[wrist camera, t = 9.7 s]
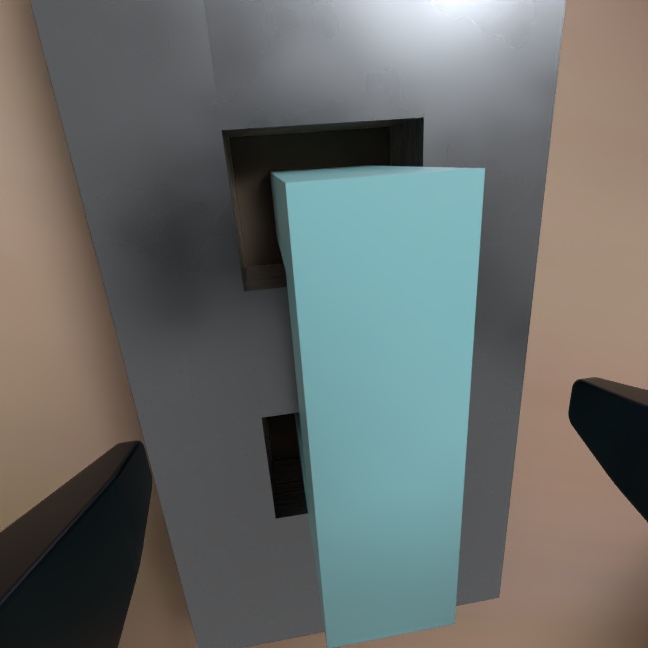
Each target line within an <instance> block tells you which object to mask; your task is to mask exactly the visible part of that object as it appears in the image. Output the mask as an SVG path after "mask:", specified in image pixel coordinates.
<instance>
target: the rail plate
mask: <svg viewBox="0 0 648 648" xmlns="http://www.w3.org/2000/svg"><path fill="white" fill-rule="evenodd" d="M30 2H31V6H32V10H33V14H34V17H35V21H36V25H37V29H38V33H39V37H40V41H41V44H42V48H43V52H44V56H45V60H46V64H47V68H48V71H49V75H50V79H51V83H52V87H53V91H54V95H55V98H56V102H57V106H58V110H59V114H60V118H61V122H62V125H63V129H64V133H65V137H66V141H67V145H68V149H69V152H70V156H71V160H72V164H73V168H74V172H75V176H76V179H77V183H78V187H79V191H80V195H81V199H82V203H83V206H84V210H85V214H86V218H87V222H88V226H89V229H90V233H91V237H92V241H93V245H94V249H95V253H96V256H97V260H98V264H99V268H100V272H101V276H102V280H103V283H104V287H105V291H106V295H107V299H108V303H109V307H110V310H111V314H112V318H113V322H114V326H115V330H116V334H117V337H118V341H119V345H120V349H121V353H122V357H123V361H124V364H125V368H126V372H127V376H128V380H129V384H130V388H131V391H132V395H133V399H134V403H135V407H136V411H137V415H138V418H139V422H140V426H141V430H142V434H143V438H144V442H145V445H146V449H147V453H148V457H149V461H150V465H151V468H152V472H153V476H154V480H155V484H156V488H157V492H158V495H159V499H160V503H161V507H162V511H163V515H164V519H165V522H166V526H167V530H168V534H169V538H170V542H171V546H172V549H173V553H174V557H175V561H176V565H177V569H178V573H179V576H180V580H181V584H182V588H183V592H184V596H185V600H186V603H187V607H188V611H189V615H190V619H191V623H192V627H193V630H194V634H195V638H196V642H197V646H198V648H243V647H249V646H254V645H259V644H264V643H269V642H274V641H279V640H284V639H290V638H295V637H300V636H305V635H310V634H315V633H320V632H325V628H324V621H323V614H322V607H321V600H320V593H319V586H318V579H317V572H316V565H315V559H314V552H313V545H312V538H311V531H310V524H309V517H308V510H307V503H306V496H305V489H304V482H303V476H302V469H301V462H300V458H294V459H287V460H280V461H273V460H272V453H271V445H270V438H269V431H268V423H267V417H269V416H276V415H284V414H291V413H298V412H299V403H298V392H297V382H296V372H295V361H294V351H293V341H292V330H291V320H290V310H289V300H288V289H287V279H286V270H285V266H284V263H280V264H270V265H259V266H249V267H246V259H245V252H244V244H243V237H242V229H241V222H240V215H239V207H238V200H237V192H236V185H235V177H234V170H233V162H232V155H231V148H230V140H229V137H239V136H255V135H270V134H286V133H301V132H316V131H332V130H347V129H363V128H378V127H390V166H411V167H455V168H485V177H484V192H483V207H482V222H481V237H480V251H479V266H478V281H477V296H476V311H475V326H474V341H473V356H472V371H471V386H470V401H469V416H468V431H467V446H466V461H465V476H464V491H463V506H462V521H461V536H460V551H459V566H458V581H457V596H456V606H459V605H464V604H469V603H474V602H479V601H484V600H489V599H494V598H499V594H500V585H501V576H502V567H503V558H504V549H505V541H506V532H507V523H508V514H509V505H510V496H511V487H512V478H513V469H514V460H515V451H516V442H517V433H518V424H519V415H520V406H521V397H522V388H523V379H524V370H525V361H526V352H527V343H528V334H529V326H530V317H531V308H532V299H533V290H534V281H535V272H536V263H537V254H538V245H539V236H540V227H541V218H542V209H543V200H544V191H545V182H546V173H547V164H548V155H549V146H550V137H551V128H552V119H553V111H554V102H555V93H556V84H557V75H558V66H559V57H560V48H561V39H562V30H563V21H564V12H565V3H566V0H30Z"/></svg>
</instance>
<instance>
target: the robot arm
mask: <svg viewBox="0 0 648 648" xmlns="http://www.w3.org/2000/svg"><path fill="white" fill-rule="evenodd" d="M568 414H569V420H570V422H571V424H572V426H573V427H574V429H575V430H576V431H577V433H578V434H579V436H580V437H581V438H582V440H583V441H584V442H585V444H586V445H587V447H588V448H589V449H590V451H591V452H592V454H593V455H594V456H595V458H596V459H597V461H598V462H599V463H600V465H601V466H602V467H603V469H604V470H605V472H606V473H607V474H608V476H609V477H610V478H611V480H612V481H613V482H614V484H615V485H616V486H617V487H618V488H619V490H620V491H621V492H622V493H623V494H624V496H625V497H626V498H627V499H628V500H629V501H630V502H631V504H632V505H633V506H634V507H635V508H636V509H637V511H638V512H639V513H640V514H641V515H642V516H643V517H644V519H645V520H646V521H647V522H648V390H645V389H641V388H637V387H633V386H629V385H625V384H621V383H617V382H613V381H609V380H605V379H601V378H596V377H592V378H585V379H579V380H577V381H575V382H574V384H573V387H572V393H571V399H570V405H569V412H568ZM151 491H152V475H151V471H150V467H149V463H148V459H147V455H146V452H145V448H144V445H143V443H142V442H141V441H130V442H123V443H119V444H117V445H115V446H114V447H113V448H111V449H110V450H109V451H107V452H106V453H105V454H104V455H102V456H101V457H100V458H98V459H97V460H96V461H94V462H93V463H92V464H90V465H89V466H88V467H86V468H85V469H84V470H82V471H81V472H80V473H78V474H77V475H76V476H74V477H73V478H72V479H70V480H69V481H68V482H66V483H65V484H64V485H63V486H61V487H60V488H59V489H57V490H56V491H55V492H53V493H52V494H51V495H49V496H48V497H47V498H45V499H44V500H43V501H41V502H40V503H39V504H37V505H36V506H35V507H33V508H32V509H31V510H29V511H28V512H27V513H25V514H24V515H23V516H21V517H20V518H19V519H18V520H16V521H15V522H14V523H12V524H11V525H10V526H8V527H7V528H6V529H4V530H3V531H2V532H0V648H118V645H119V641H120V637H121V633H122V630H123V626H124V622H125V619H126V615H127V611H128V608H129V604H130V600H131V597H132V593H133V589H134V586H135V582H136V578H137V574H138V570H139V566H140V561H141V556H142V550H143V543H144V537H145V530H146V524H147V517H148V511H149V504H150V497H151Z"/></svg>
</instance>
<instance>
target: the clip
mask: <svg viewBox="0 0 648 648" xmlns="http://www.w3.org/2000/svg"><path fill="white" fill-rule="evenodd" d="M270 177H271V187H272V197H273V207H274V216H275V226H276V236H277V240H278V244H279V247H280V251H281V255H282V259H283V263H284V266H285V270H286V279H287V289H288V300H289V310H290V320H291V330H292V341H293V351H294V361H295V372H296V382H297V392H298V403H299V412H298V413H295V422H296V432H297V441H298V448H299V455H300V462H301V469H302V476H303V482H304V489H305V496H306V503H307V510H308V517H309V524H310V531H311V538H312V545H313V552H314V559H315V565H316V572H317V579H318V586H319V593H320V600H321V607H322V614H323V621H324V628H325V635H326V641H327V648H334V647H339V646H344V645H349V644H355V643H360V642H365V641H370V640H375V639H380V638H385V637H390V636H395V635H400V634H405V633H410V632H416V631H421V630H426V629H431V628H436V627H441V626H446V625H451V624H455V611H456V596H457V581H458V566H459V551H460V536H461V521H462V506H463V491H464V476H465V461H466V446H467V431H468V416H469V401H470V386H471V371H472V356H473V341H474V326H475V311H476V296H477V281H478V266H479V251H480V237H481V222H482V207H483V192H484V177H485V168H455V167H411V166H366V165H362V166H348V167H334V168H320V169H305V170H291V171H277V172H270Z"/></svg>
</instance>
